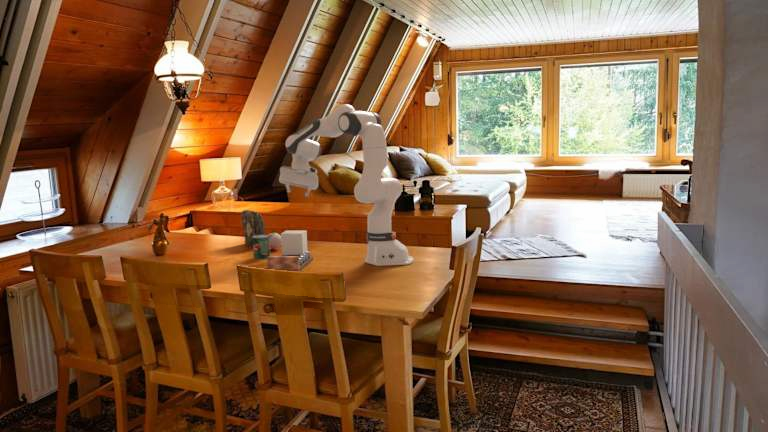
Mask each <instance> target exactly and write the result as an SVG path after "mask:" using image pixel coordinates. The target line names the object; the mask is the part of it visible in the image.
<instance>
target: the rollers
mask: <svg viewBox="0 0 768 432" xmlns="http://www.w3.org/2000/svg"><path fill="white" fill-rule="evenodd" d="M281 256H299V261H300V265H302V264H303V262H305V260H308V258H310V257H312V255H311V251H307V252H306V253H305V254H303V255H282V254H281Z"/></svg>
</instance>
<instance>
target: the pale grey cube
mask: <svg viewBox="0 0 768 432" xmlns="http://www.w3.org/2000/svg"><path fill="white" fill-rule="evenodd" d="M280 236H281V245H280V246H281V256H282V255H303V254H305V253H306V252H309V251H308V231H307V230H299V229H298V230H297V229H296V230H284V231H283V232H282V233H280Z"/></svg>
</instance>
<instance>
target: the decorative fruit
mask: <svg viewBox="0 0 768 432" xmlns="http://www.w3.org/2000/svg"><path fill="white" fill-rule="evenodd" d="M268 235H269V247H270V249H271V250H273V251H274V250H275V249H276V248H277V249H278V247H280V246H282V245H281V234H279V233H278V232H276V231H275V232H274V231H272V233H269V234H268Z"/></svg>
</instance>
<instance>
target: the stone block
mask: <svg viewBox="0 0 768 432" xmlns="http://www.w3.org/2000/svg"><path fill="white" fill-rule="evenodd" d="M240 216H241V218H240V219H241V223H242V228H243V232H244V233H243V234H244V244H245V245H246V246H247V247H249V248H252V249H253V236H255V235H265V230H266V229H265V228H266V225H265V223H264V219H263V216H262V215H261V213H259V212H257V211H255V210H250V209H249V210H248V209H245V210H242V212H241V215H240Z"/></svg>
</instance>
